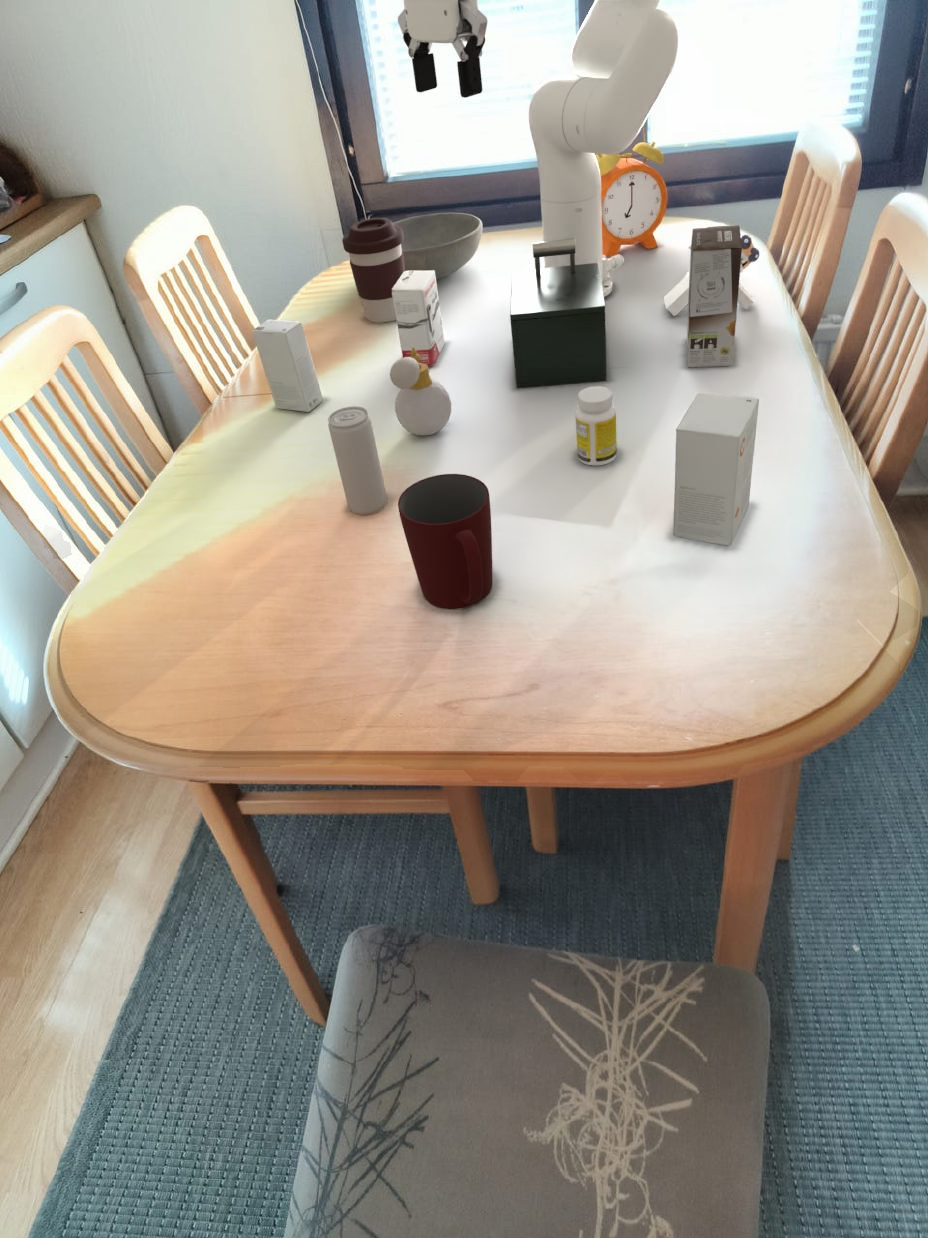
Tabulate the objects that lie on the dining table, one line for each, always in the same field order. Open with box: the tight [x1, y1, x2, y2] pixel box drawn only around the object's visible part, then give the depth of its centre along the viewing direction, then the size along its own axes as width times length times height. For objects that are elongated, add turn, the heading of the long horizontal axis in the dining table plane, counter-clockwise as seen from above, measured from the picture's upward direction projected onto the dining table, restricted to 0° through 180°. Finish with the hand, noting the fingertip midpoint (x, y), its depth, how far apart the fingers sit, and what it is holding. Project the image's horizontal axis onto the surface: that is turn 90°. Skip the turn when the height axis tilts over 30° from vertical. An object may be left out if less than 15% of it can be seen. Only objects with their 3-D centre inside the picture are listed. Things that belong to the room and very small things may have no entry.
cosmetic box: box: [251, 318, 324, 413], centre depth 126 cm, size 6×4×12 cm
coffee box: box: [686, 224, 742, 368], centre depth 121 cm, size 9×6×16 cm
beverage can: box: [327, 405, 388, 516], centre depth 103 cm, size 5×5×12 cm
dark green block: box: [509, 238, 606, 321], centre depth 123 cm, size 16×13×5 cm
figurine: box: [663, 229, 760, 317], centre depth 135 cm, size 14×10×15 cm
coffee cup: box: [341, 217, 405, 324], centre depth 147 cm, size 10×10×15 cm
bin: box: [510, 311, 607, 389], centre depth 127 cm, size 16×13×10 cm
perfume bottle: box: [389, 347, 452, 436], centre depth 114 cm, size 8×10×12 cm
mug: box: [397, 473, 494, 610], centre depth 88 cm, size 12×9×11 cm
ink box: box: [392, 270, 446, 367], centre depth 134 cm, size 9×5×12 cm, turn 168°
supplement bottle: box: [575, 385, 618, 467], centre depth 106 cm, size 5×5×8 cm
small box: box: [672, 391, 760, 547], centre depth 92 cm, size 8×6×13 cm
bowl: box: [392, 212, 484, 280], centre depth 162 cm, size 21×21×8 cm
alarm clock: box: [595, 124, 669, 258], centre depth 156 cm, size 13×6×20 cm, turn 103°
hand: (448, 92), depth 117 cm, fingers open, 9 cm apart
